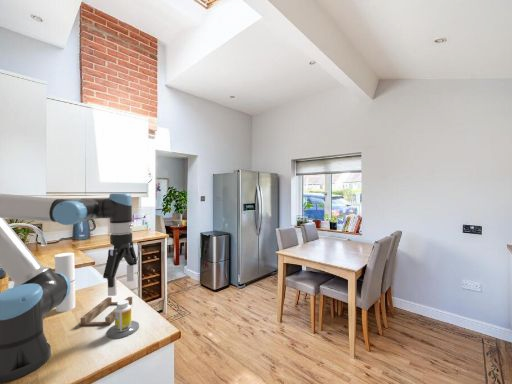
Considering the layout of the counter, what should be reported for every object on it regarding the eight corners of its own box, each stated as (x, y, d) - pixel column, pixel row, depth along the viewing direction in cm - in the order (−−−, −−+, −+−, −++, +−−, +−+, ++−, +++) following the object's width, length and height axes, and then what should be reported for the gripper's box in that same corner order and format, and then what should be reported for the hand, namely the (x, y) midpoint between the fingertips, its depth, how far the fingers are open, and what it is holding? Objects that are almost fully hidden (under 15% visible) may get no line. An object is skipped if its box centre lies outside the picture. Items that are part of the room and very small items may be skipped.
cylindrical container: (52, 313, 109) (51, 257, 109) (60, 305, 116) (59, 253, 116) (71, 310, 111) (69, 255, 111) (78, 303, 118) (76, 252, 118)
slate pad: (130, 338, 90) (130, 336, 90) (100, 338, 90) (100, 337, 90) (143, 321, 101) (143, 320, 101) (116, 322, 101) (116, 321, 101)
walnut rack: (109, 325, 99) (109, 317, 99) (80, 326, 99) (80, 318, 99) (132, 303, 118) (132, 296, 118) (107, 303, 118) (107, 297, 117)
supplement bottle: (133, 323, 99) (133, 298, 98) (127, 332, 93) (127, 305, 93) (119, 324, 98) (118, 299, 98) (112, 332, 93) (111, 306, 92)
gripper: (113, 239, 83) (114, 302, 83) (144, 227, 108) (145, 276, 108) (90, 239, 82) (91, 302, 83) (127, 228, 107) (128, 276, 108)
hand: (122, 287), depth 95 cm, fingers open, 13 cm apart
